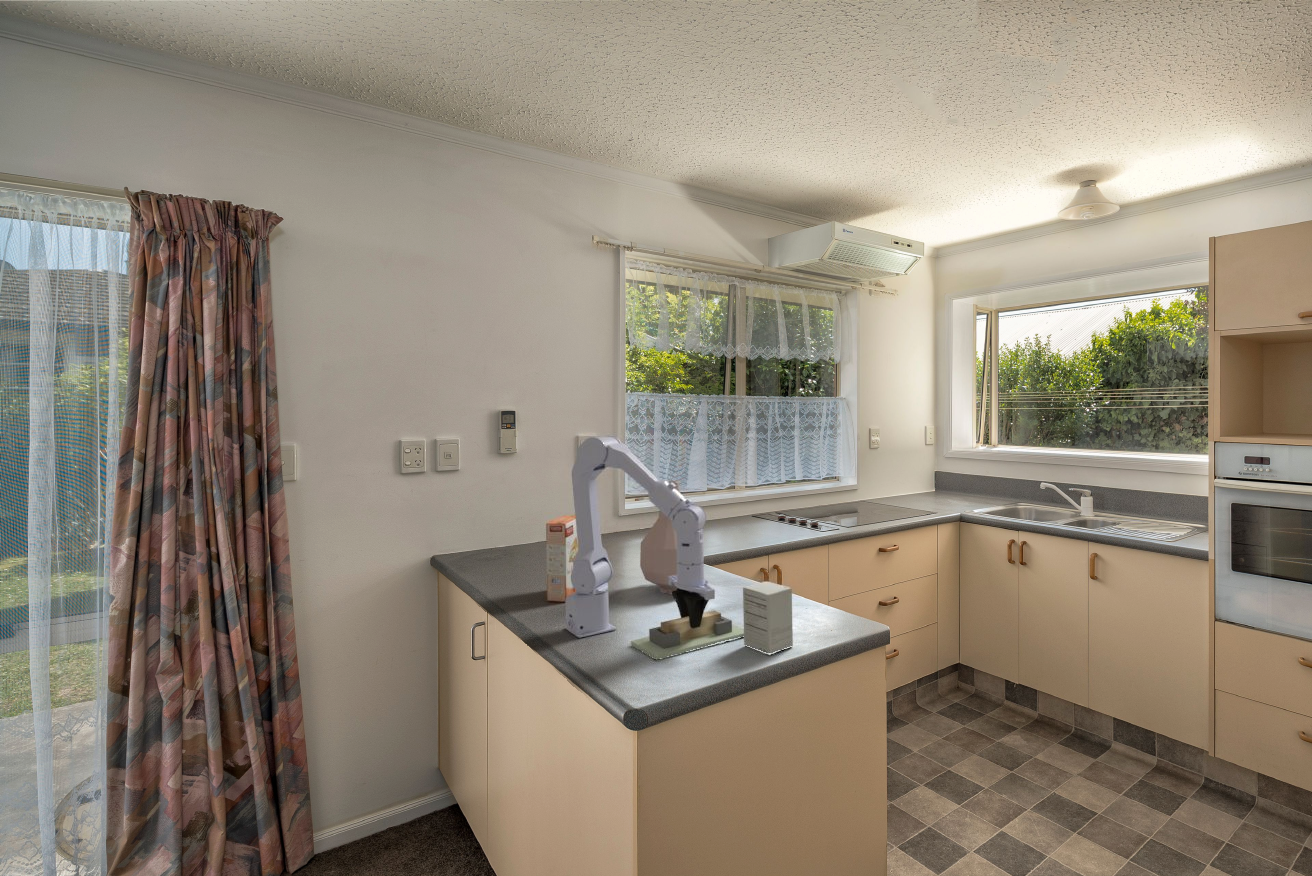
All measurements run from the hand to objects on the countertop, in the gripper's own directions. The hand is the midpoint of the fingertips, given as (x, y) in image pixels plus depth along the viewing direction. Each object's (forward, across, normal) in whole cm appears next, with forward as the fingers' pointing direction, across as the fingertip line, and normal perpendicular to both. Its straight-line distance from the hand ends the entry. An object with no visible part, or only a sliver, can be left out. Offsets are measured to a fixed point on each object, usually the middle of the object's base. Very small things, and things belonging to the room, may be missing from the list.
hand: (691, 624), depth 136 cm
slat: (+2, 0, 0) cm, 2 cm away
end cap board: (+3, 0, 0) cm, 3 cm away
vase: (+4, +35, -18) cm, 40 cm away
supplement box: (+4, -12, -11) cm, 17 cm away
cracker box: (+4, +48, +8) cm, 49 cm away
